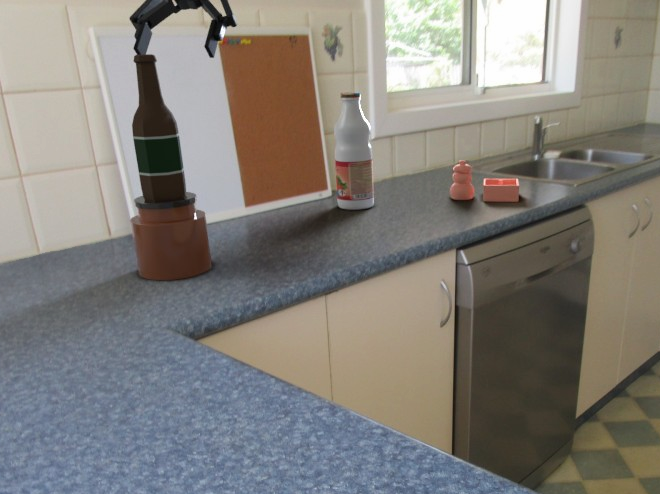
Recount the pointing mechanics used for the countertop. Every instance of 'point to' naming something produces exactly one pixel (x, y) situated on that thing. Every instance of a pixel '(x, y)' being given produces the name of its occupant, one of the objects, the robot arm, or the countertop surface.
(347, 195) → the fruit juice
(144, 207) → the jar
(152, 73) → the beer bottle
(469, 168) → the pottery
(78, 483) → the countertop surface
